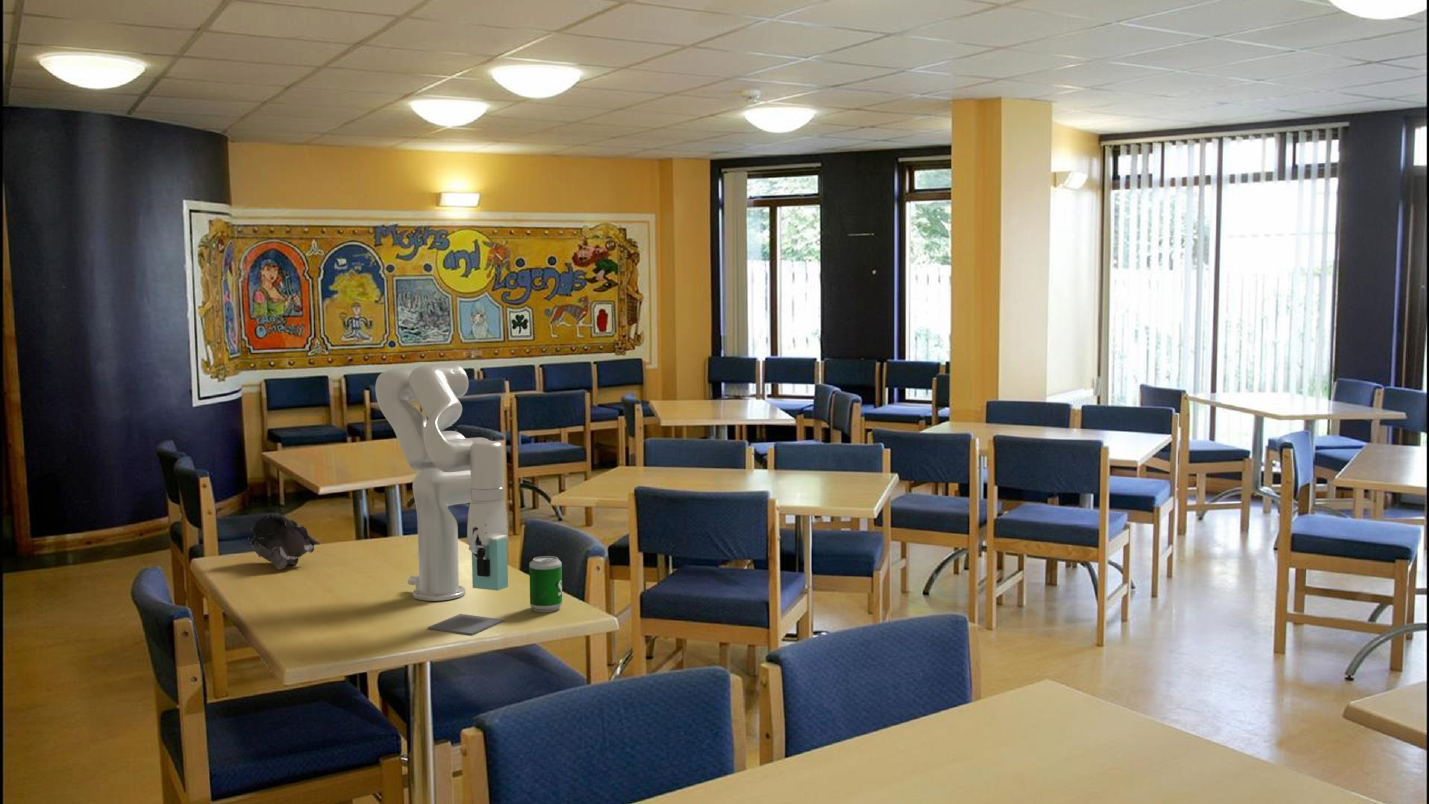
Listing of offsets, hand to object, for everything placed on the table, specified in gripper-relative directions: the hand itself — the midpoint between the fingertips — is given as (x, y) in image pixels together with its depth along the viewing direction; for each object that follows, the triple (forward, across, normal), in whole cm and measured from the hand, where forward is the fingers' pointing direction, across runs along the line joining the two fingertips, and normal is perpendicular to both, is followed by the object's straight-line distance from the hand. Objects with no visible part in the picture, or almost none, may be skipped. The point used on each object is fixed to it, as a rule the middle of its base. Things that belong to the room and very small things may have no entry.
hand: (489, 573), depth 262 cm
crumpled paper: (+9, -19, -84) cm, 86 cm away
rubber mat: (+10, +9, 0) cm, 13 cm away
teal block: (+3, 0, 0) cm, 3 cm away
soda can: (+10, -10, +8) cm, 17 cm away
